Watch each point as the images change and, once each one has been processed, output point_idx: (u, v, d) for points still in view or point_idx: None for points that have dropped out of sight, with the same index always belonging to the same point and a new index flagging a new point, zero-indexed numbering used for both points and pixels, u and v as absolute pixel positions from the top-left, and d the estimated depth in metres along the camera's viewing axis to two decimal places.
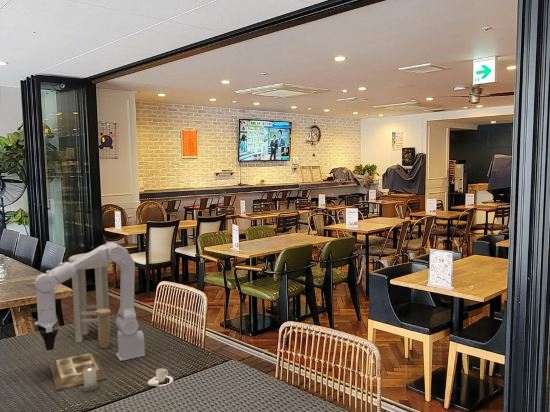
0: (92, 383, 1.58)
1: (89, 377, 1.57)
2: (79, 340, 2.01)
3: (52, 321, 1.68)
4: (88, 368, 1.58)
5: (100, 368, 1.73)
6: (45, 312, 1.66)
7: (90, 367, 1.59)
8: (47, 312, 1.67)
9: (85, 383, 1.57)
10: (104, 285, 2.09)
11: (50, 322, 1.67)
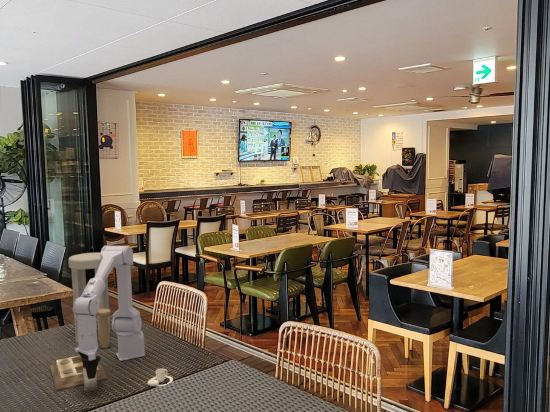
0: (92, 383, 1.58)
1: None
2: None
3: (94, 347, 1.56)
4: None
5: (100, 368, 1.73)
6: (87, 338, 1.55)
7: None
8: (89, 337, 1.55)
9: (85, 383, 1.57)
10: None
11: (92, 348, 1.56)
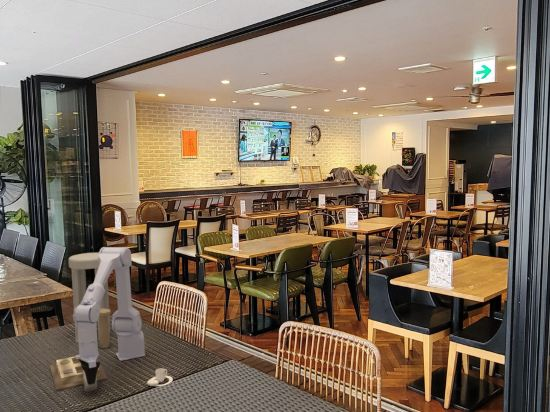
0: None
1: None
2: None
3: (94, 355, 1.57)
4: None
5: (100, 368, 1.73)
6: (87, 345, 1.55)
7: None
8: (89, 345, 1.55)
9: (85, 383, 1.57)
10: (104, 285, 2.09)
11: (92, 356, 1.56)
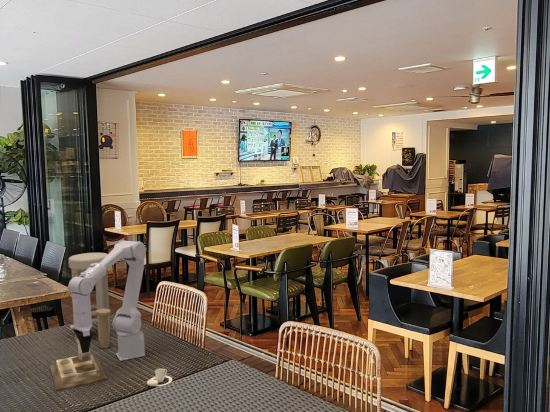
0: (86, 352, 1.66)
1: None
2: None
3: (88, 325, 1.65)
4: None
5: (100, 368, 1.73)
6: (81, 315, 1.64)
7: None
8: (83, 315, 1.64)
9: (79, 352, 1.66)
10: (104, 285, 2.09)
11: (86, 326, 1.65)
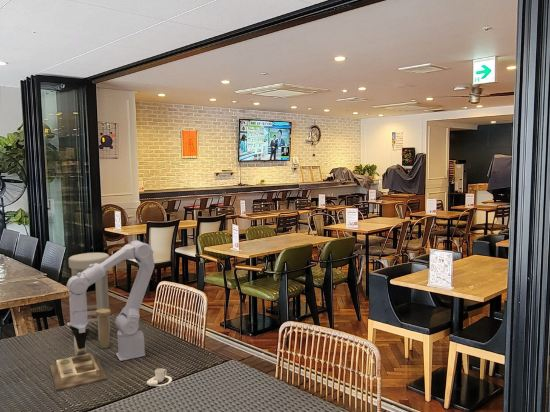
0: None
1: None
2: None
3: (84, 322, 1.73)
4: None
5: (100, 368, 1.73)
6: (77, 313, 1.72)
7: None
8: (79, 313, 1.72)
9: (75, 348, 1.74)
10: (104, 285, 2.09)
11: (82, 323, 1.73)
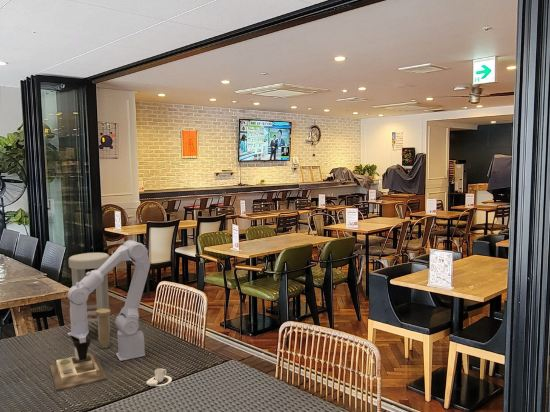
0: (83, 360, 1.74)
1: None
2: None
3: (85, 332, 1.74)
4: None
5: (100, 368, 1.73)
6: (78, 323, 1.72)
7: None
8: (80, 323, 1.72)
9: (76, 360, 1.74)
10: (104, 285, 2.09)
11: (83, 333, 1.73)
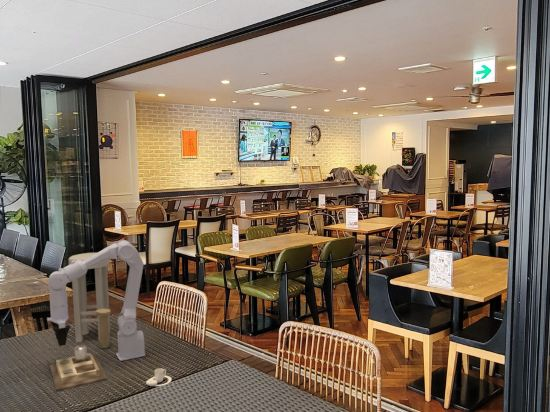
0: (83, 360, 1.74)
1: (80, 354, 1.74)
2: (79, 340, 2.01)
3: (64, 317, 1.73)
4: (79, 347, 1.75)
5: (100, 368, 1.73)
6: (58, 309, 1.72)
7: (81, 346, 1.76)
8: (60, 308, 1.72)
9: (76, 360, 1.74)
10: (104, 285, 2.09)
11: (62, 318, 1.73)
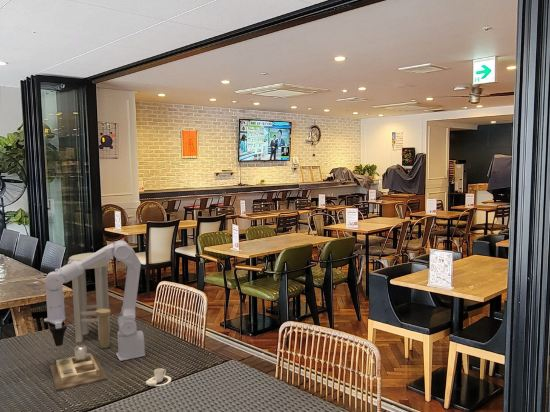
0: (83, 360, 1.74)
1: (80, 354, 1.74)
2: (79, 340, 2.01)
3: (61, 318, 1.73)
4: (79, 347, 1.75)
5: (100, 368, 1.73)
6: (54, 309, 1.72)
7: (81, 346, 1.76)
8: (56, 309, 1.72)
9: (76, 360, 1.74)
10: (104, 285, 2.09)
11: (59, 319, 1.73)
